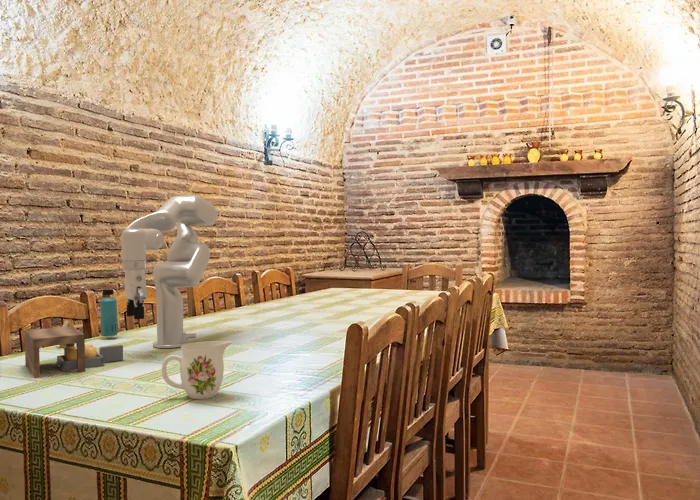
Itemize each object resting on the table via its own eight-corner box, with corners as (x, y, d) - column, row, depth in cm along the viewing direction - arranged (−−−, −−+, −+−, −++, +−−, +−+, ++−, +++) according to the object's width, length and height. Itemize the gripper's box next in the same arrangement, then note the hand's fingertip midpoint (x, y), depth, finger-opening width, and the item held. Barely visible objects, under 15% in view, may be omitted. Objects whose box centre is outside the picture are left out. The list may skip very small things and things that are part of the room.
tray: (118, 358, 205) (118, 340, 205) (126, 364, 196) (126, 345, 196) (57, 365, 194) (56, 347, 194) (63, 372, 185) (62, 352, 185)
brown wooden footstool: (72, 360, 201) (72, 326, 201) (85, 371, 184) (84, 334, 184) (25, 365, 193) (24, 330, 193) (34, 377, 176) (33, 339, 176)
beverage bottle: (111, 340, 238) (111, 290, 237) (97, 339, 239) (96, 289, 239) (121, 337, 244) (120, 288, 244) (106, 337, 246) (105, 288, 245)
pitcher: (163, 393, 158) (162, 341, 158) (232, 388, 163) (231, 337, 163) (161, 404, 148) (160, 349, 147) (235, 398, 152) (234, 345, 152)
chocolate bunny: (52, 347, 224) (51, 320, 224) (70, 343, 231) (70, 318, 231) (62, 348, 222) (61, 321, 221) (80, 345, 229) (79, 318, 228)
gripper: (153, 266, 197) (154, 319, 198) (138, 264, 211) (139, 313, 212) (129, 267, 193) (130, 321, 193) (116, 265, 207) (117, 315, 208)
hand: (135, 317), depth 203 cm, fingers open, 8 cm apart
